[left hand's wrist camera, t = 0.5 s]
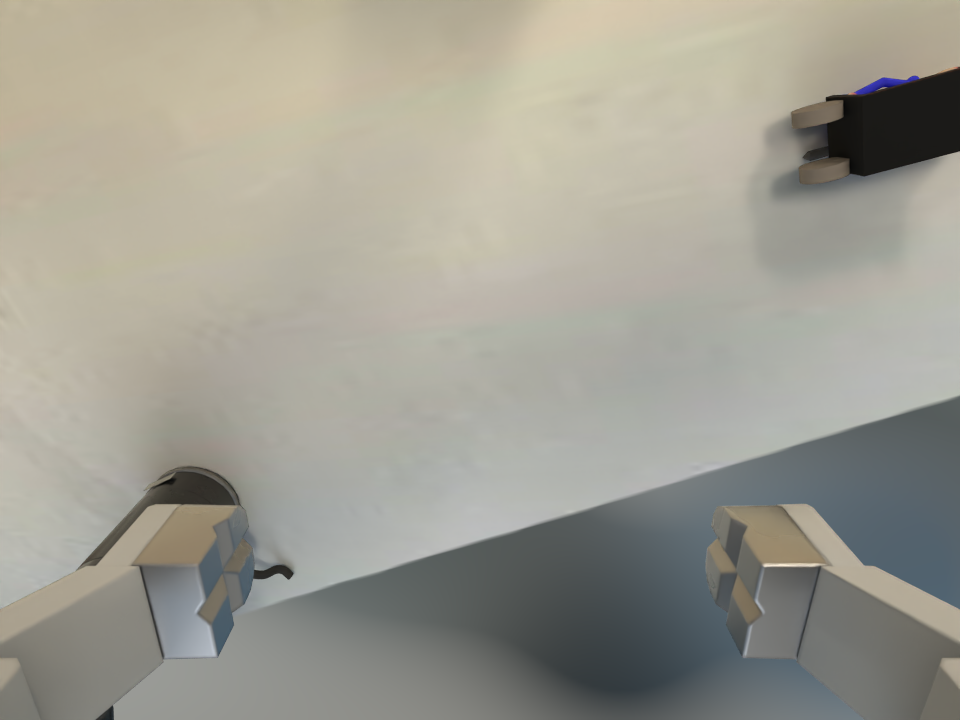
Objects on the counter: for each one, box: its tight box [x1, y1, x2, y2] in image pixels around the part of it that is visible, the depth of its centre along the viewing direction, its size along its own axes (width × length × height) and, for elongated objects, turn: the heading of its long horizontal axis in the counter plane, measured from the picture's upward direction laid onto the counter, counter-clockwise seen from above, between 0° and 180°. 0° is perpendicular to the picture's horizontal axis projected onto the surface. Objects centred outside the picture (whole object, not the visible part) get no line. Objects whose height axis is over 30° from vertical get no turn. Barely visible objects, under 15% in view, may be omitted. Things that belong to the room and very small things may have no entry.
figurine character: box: [791, 67, 960, 184], centre depth 48 cm, size 7×8×15 cm
